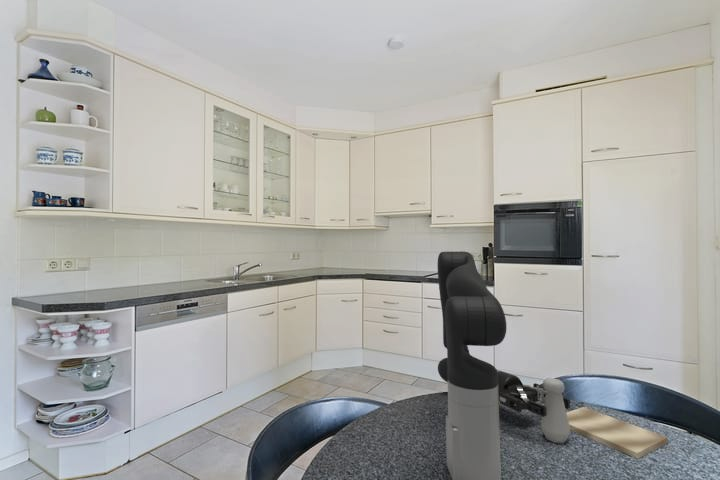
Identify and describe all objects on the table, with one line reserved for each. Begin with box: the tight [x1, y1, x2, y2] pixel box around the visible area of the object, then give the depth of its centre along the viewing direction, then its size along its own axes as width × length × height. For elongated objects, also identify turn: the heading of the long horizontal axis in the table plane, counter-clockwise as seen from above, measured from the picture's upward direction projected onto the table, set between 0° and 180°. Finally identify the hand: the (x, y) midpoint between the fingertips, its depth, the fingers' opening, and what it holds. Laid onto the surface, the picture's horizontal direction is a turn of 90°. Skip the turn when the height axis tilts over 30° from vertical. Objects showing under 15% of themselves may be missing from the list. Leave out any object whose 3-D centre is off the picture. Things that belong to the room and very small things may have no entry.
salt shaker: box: [540, 377, 571, 444], centre depth 78 cm, size 6×6×13 cm
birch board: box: [566, 406, 669, 460], centre depth 81 cm, size 18×13×1 cm
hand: (557, 408), depth 78 cm, fingers open, 8 cm apart
